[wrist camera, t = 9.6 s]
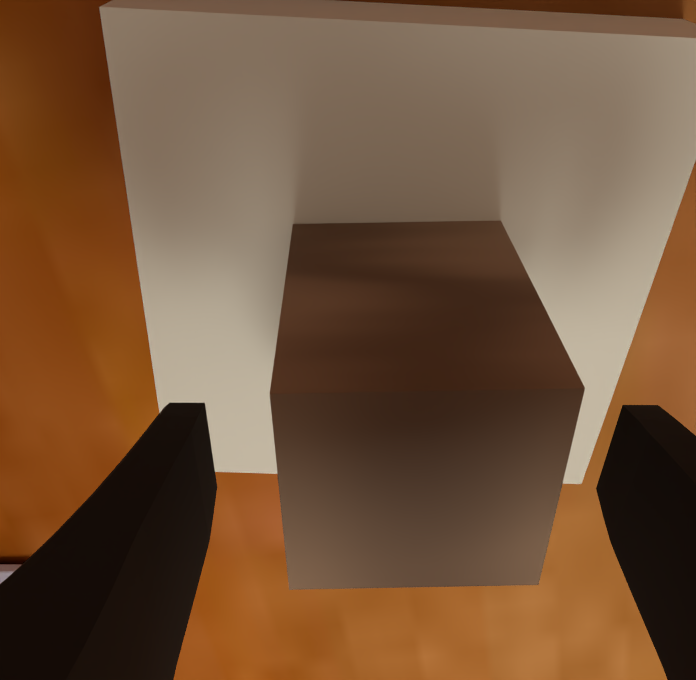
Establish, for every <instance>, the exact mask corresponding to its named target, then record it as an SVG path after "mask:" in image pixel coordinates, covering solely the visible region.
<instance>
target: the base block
mask: <svg viewBox="0 0 696 680" xmlns="http://www.w3.org/2000/svg"><path fill="white" fill-rule="evenodd" d="M99 9H100V16H101V23H102V30H103V36H104V43H105V50H106V57H107V63H108V70H109V77H110V83H111V90H112V97H113V104H114V110H115V117H116V124H117V130H118V137H119V144H120V151H121V157H122V164H123V171H124V178H125V184H126V191H127V198H128V204H129V211H130V218H131V225H132V231H133V238H134V245H135V252H136V258H137V265H138V272H139V278H140V285H141V292H142V299H143V305H144V312H145V319H146V325H147V332H148V339H149V346H150V352H151V359H152V366H153V373H154V379H155V386H156V393H157V399H158V406H159V413H160V412H161V411H162V409H163V408H164V407H165V406H166V405H167V404H169V403H205V407H206V414H207V421H208V428H209V434H210V441H211V448H212V455H213V462H214V469H215V472H241V473H270V474H278V473H277V463H276V453H275V443H274V433H273V424H272V414H271V404H270V387H271V379H272V372H273V365H274V358H275V350H276V343H277V336H278V328H279V321H280V314H281V307H282V299H283V292H284V285H285V277H286V270H287V263H288V256H289V248H290V241H291V234H292V226H293V224H324V223H383V222H441V221H501V222H502V224H503V226H504V228H505V230H506V232H507V234H508V236H509V238H510V240H511V242H512V244H513V246H514V248H515V250H516V252H517V254H518V256H519V258H520V260H521V262H522V264H523V266H524V268H525V270H526V272H527V274H528V276H529V278H530V280H531V282H532V284H533V286H534V288H535V289H536V291H537V293H538V295H539V297H540V299H541V301H542V303H543V305H544V307H545V309H546V311H547V313H548V315H549V317H550V319H551V321H552V323H553V325H554V327H555V329H556V331H557V333H558V335H559V337H560V339H561V341H562V343H563V345H564V347H565V349H566V351H567V353H568V355H569V357H570V359H571V361H572V363H573V365H574V367H575V369H576V371H577V373H578V375H579V377H580V379H581V381H582V383H583V385H584V387H585V391H584V395H583V399H582V403H581V408H580V412H579V416H578V420H577V424H576V429H575V433H574V437H573V441H572V445H571V450H570V454H569V458H568V462H567V467H566V471H565V475H564V479H563V483H566V484H582V481H583V478H584V475H585V472H586V469H587V467H588V464H589V461H590V458H591V455H592V452H593V450H594V447H595V444H596V441H597V438H598V435H599V433H600V430H601V427H602V424H603V421H604V418H605V416H606V413H607V410H608V407H609V404H610V401H611V399H612V396H613V393H614V390H615V387H616V384H617V382H618V379H619V376H620V373H621V370H622V367H623V365H624V362H625V359H626V356H627V353H628V350H629V348H630V345H631V342H632V339H633V336H634V333H635V330H636V328H637V325H638V322H639V319H640V316H641V313H642V311H643V308H644V305H645V302H646V299H647V296H648V294H649V291H650V288H651V285H652V282H653V279H654V277H655V274H656V271H657V268H658V265H659V262H660V260H661V257H662V254H663V251H664V248H665V245H666V243H667V240H668V237H669V234H670V231H671V228H672V226H673V223H674V220H675V217H676V214H677V211H678V209H679V206H680V203H681V200H682V197H683V194H684V192H685V189H686V186H687V183H688V180H689V177H690V175H691V172H692V169H693V166H694V163H695V160H696V24H695V23H692V22H690V21H687V20H685V19H675V18H657V17H638V16H619V15H600V14H581V13H563V12H544V11H525V10H506V9H487V8H468V7H450V6H431V5H412V4H393V3H374V2H355V1H337V0H112V1H110V2H108V3H106V4H104V5H102V6H100V7H99Z"/></svg>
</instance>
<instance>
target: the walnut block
mask: <svg viewBox="0 0 696 680" xmlns="http://www.w3.org/2000/svg"><path fill="white" fill-rule="evenodd" d="M584 391H585V387H584V385H583V383H582V381H581V379H580V377H579V375H578V373H577V371H576V369H575V367H574V365H573V363H572V361H571V359H570V357H569V355H568V353H567V351H566V349H565V347H564V345H563V343H562V341H561V339H560V337H559V335H558V333H557V331H556V329H555V327H554V325H553V323H552V321H551V319H550V317H549V315H548V313H547V311H546V309H545V307H544V305H543V303H542V301H541V299H540V297H539V295H538V293H537V291H536V289H535V288H534V286H533V284H532V282H531V280H530V278H529V276H528V274H527V272H526V270H525V268H524V266H523V264H522V262H521V260H520V258H519V256H518V254H517V252H516V250H515V248H514V246H513V244H512V242H511V240H510V238H509V236H508V234H507V232H506V230H505V228H504V226H503V224H502V222H501V221H441V222H383V223H324V224H293V226H292V234H291V241H290V248H289V256H288V263H287V270H286V277H285V285H284V292H283V299H282V307H281V314H280V321H279V328H278V336H277V343H276V350H275V358H274V365H273V372H272V379H271V387H270V404H271V414H272V424H273V433H274V443H275V453H276V463H277V473H278V483H279V493H280V503H281V513H282V523H283V533H284V543H285V552H286V562H287V572H288V582H289V590H293V589H345V588H398V587H451V586H503V585H538V584H539V580H540V576H541V572H542V568H543V563H544V559H545V555H546V551H547V547H548V542H549V538H550V534H551V530H552V525H553V521H554V517H555V513H556V509H557V504H558V500H559V496H560V492H561V488H562V483H563V479H564V475H565V471H566V467H567V462H568V458H569V454H570V450H571V445H572V441H573V437H574V433H575V429H576V424H577V420H578V416H579V412H580V408H581V403H582V399H583V395H584Z"/></svg>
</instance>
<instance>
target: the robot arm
mask: <svg viewBox="0 0 696 680" xmlns="http://www.w3.org/2000/svg"><path fill="white" fill-rule="evenodd" d="M596 489H597V493H598V497H599V501H600V505H601V509H602V513H603V517H604V520H605V524H606V527H607V531H608V534H609V538H610V541H611V544H612V547H613V549H614V552H615V554H616V557H617V559H618V561H619V564H620V566H621V569H622V571H623V573H624V576H625V578H626V581H627V583H628V586H629V588H630V590H631V593H632V595H633V597H634V600H635V602H636V604H637V607H638V609H639V611H640V614H641V616H642V619H643V621H644V623H645V626H646V628H647V630H648V633H649V635H650V637H651V640H652V642H653V644H654V647H655V649H656V652H657V654H658V656H659V659H660V661H661V663H662V666H663V668H664V671H665V674H666V676H667V679H668V680H696V436H695V435H694V434H693V433H692V432H690V431H689V430H688V429H687V428H686V427H684V426H683V425H682V424H681V423H680V422H678V421H677V420H676V419H675V418H674V417H672V416H671V415H670V414H669V413H667V412H666V411H665V410H663V409H662V408H661V407H660V406H658V405H623V406H622V409H621V412H620V415H619V418H618V421H617V425H616V428H615V431H614V434H613V437H612V440H611V444H610V447H609V450H608V453H607V456H606V459H605V462H604V466H603V469H602V472H601V475H600V478H599V481H598V485H597V488H596ZM216 491H217V483H216V476H215V469H214V462H213V455H212V448H211V441H210V434H209V428H208V421H207V414H206V407H205V403H169V404H167V405H166V406H165V407H164V408H163V409H162V411H161V412H160V413H159V415H158V416H157V417H156V418H155V420H154V421H153V422H152V423H151V425H150V426H149V427H148V429H147V430H146V431H145V432H144V434H143V435H142V436H141V437H140V439H139V440H138V441H137V442H136V444H135V445H134V446H133V447H132V448H131V450H130V451H129V452H128V453H127V454H126V456H125V457H124V458H123V459H122V461H121V462H120V463H119V464H118V465H117V466H116V467H115V469H114V470H113V471H112V472H111V473H110V474H109V475H108V477H107V478H106V479H105V480H104V481H103V482H102V484H101V485H100V486H99V487H98V488H97V489H96V490H95V492H94V493H93V494H92V495H91V496H90V497H89V498H88V499H87V500H86V501H85V502H84V503H83V504H82V506H81V507H80V508H79V509H78V510H77V511H76V512H75V513H74V514H73V515H72V516H71V517H70V518H69V519H68V520H67V521H66V522H65V523H64V524H63V525H62V526H61V527H60V528H59V529H58V531H57V532H56V533H55V534H54V535H53V536H52V537H51V538H50V539H49V540H47V541H46V542H45V543H44V544H43V545H42V546H41V547H40V548H39V549H38V550H37V551H36V552H35V553H34V554H33V555H32V556H31V557H30V558H29V559H28V560H26V561H25V562H24V563H23V564H0V680H173V678H174V674H175V670H176V665H177V661H178V657H179V654H180V650H181V646H182V642H183V639H184V635H185V631H186V628H187V624H188V620H189V616H190V613H191V609H192V605H193V601H194V598H195V594H196V590H197V586H198V583H199V579H200V575H201V571H202V567H203V564H204V560H205V556H206V552H207V548H208V544H209V540H210V534H211V527H212V520H213V513H214V506H215V498H216Z"/></svg>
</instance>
